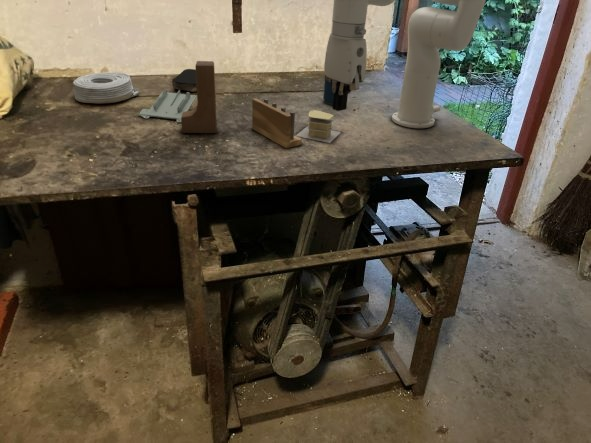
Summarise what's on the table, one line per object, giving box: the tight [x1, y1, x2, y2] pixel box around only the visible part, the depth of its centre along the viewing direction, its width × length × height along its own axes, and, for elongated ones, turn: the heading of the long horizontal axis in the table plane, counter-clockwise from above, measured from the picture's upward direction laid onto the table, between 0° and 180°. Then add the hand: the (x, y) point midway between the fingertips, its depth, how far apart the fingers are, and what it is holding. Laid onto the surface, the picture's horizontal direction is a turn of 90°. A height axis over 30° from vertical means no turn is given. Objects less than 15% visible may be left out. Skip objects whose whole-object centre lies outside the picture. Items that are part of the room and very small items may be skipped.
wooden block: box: [180, 60, 218, 134], centre depth 126 cm, size 9×4×18 cm, turn 96°
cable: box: [72, 71, 140, 104], centre depth 149 cm, size 18×18×6 cm
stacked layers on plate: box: [295, 109, 341, 144], centre depth 131 cm, size 10×9×6 cm
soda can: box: [322, 74, 346, 106], centre depth 154 cm, size 7×7×12 cm
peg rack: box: [251, 97, 303, 149], centre depth 127 cm, size 5×16×8 cm, turn 37°
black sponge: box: [171, 68, 197, 93], centre depth 165 cm, size 16×8×4 cm, turn 172°
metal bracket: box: [138, 89, 197, 123], centre depth 141 cm, size 14×6×15 cm
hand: (339, 109), depth 118 cm, fingers closed
